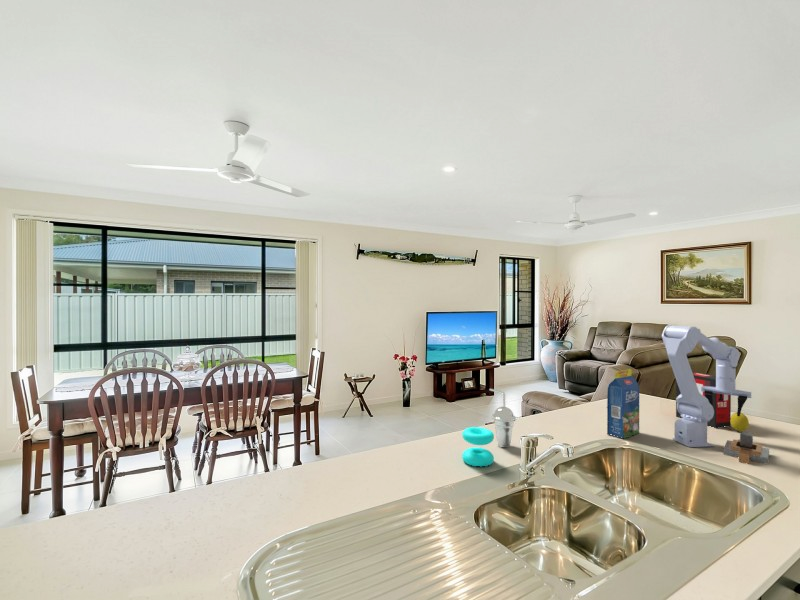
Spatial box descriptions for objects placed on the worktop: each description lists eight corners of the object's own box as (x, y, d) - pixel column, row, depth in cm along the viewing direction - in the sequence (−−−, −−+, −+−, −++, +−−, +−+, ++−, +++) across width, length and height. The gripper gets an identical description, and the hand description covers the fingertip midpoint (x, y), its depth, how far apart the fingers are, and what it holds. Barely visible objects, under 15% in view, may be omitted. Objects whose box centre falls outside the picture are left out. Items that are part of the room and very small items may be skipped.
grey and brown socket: (767, 468, 122) (767, 458, 122) (721, 458, 130) (721, 449, 130) (769, 454, 133) (769, 445, 133) (727, 445, 141) (727, 437, 141)
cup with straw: (506, 452, 134) (506, 393, 134) (485, 444, 141) (485, 389, 141) (520, 446, 139) (521, 390, 139) (499, 439, 146) (500, 385, 146)
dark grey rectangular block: (751, 457, 130) (751, 436, 130) (739, 454, 133) (740, 434, 133) (752, 453, 133) (752, 433, 133) (741, 451, 135) (741, 431, 135)
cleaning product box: (730, 426, 163) (730, 378, 162) (715, 428, 160) (715, 379, 160) (690, 415, 178) (690, 371, 178) (676, 416, 176) (676, 372, 176)
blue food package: (639, 433, 153) (640, 370, 153) (623, 439, 146) (623, 373, 146) (623, 429, 158) (623, 367, 158) (606, 434, 152) (607, 370, 152)
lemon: (732, 433, 154) (732, 412, 154) (728, 428, 159) (728, 409, 159) (750, 435, 152) (750, 414, 152) (746, 431, 157) (746, 411, 156)
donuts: (460, 434, 123) (464, 424, 132) (460, 466, 123) (463, 454, 132) (493, 437, 120) (494, 427, 129) (493, 470, 120) (494, 457, 130)
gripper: (752, 379, 146) (751, 415, 146) (703, 373, 156) (703, 407, 156) (750, 381, 141) (750, 419, 141) (700, 376, 151) (700, 411, 151)
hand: (725, 413), depth 148 cm, fingers open, 7 cm apart
